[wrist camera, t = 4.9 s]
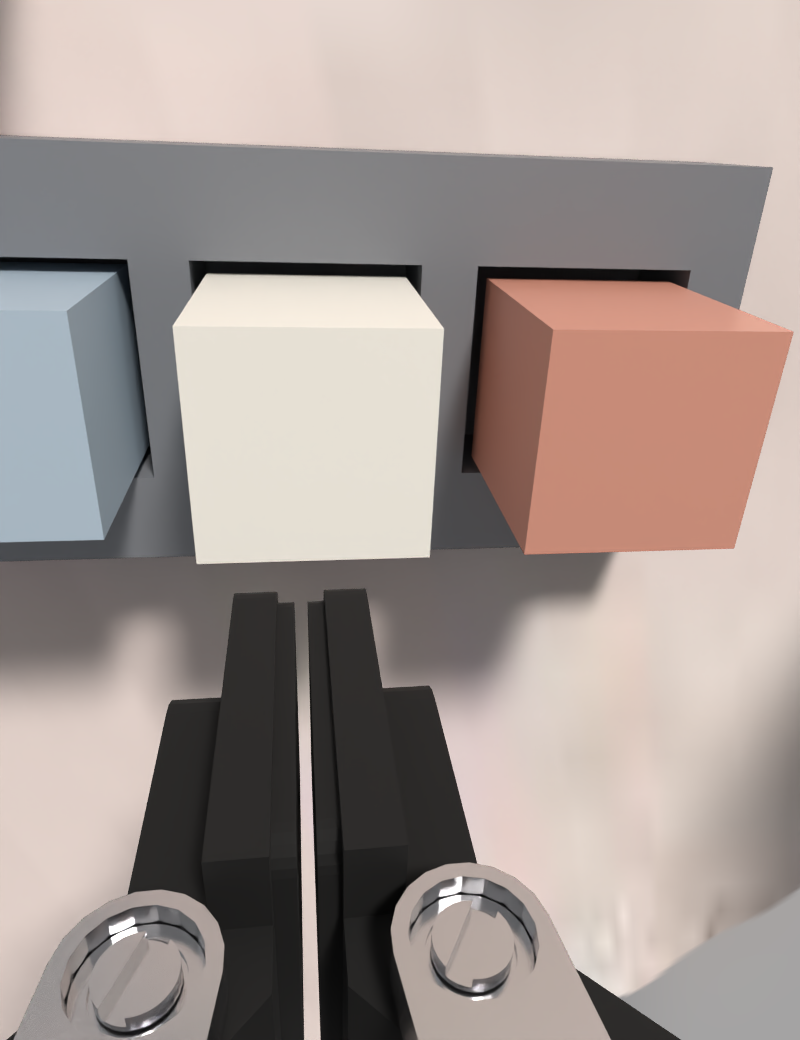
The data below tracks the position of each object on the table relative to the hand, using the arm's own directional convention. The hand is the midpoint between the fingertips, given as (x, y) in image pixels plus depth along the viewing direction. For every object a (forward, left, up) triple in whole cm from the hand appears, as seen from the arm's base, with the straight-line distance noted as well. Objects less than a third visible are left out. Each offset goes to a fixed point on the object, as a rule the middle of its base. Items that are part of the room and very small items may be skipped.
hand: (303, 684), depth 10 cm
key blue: (+8, 0, -16) cm, 18 cm away
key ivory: (0, 0, -14) cm, 14 cm away
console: (0, 0, -18) cm, 18 cm away
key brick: (-8, 0, -14) cm, 17 cm away
